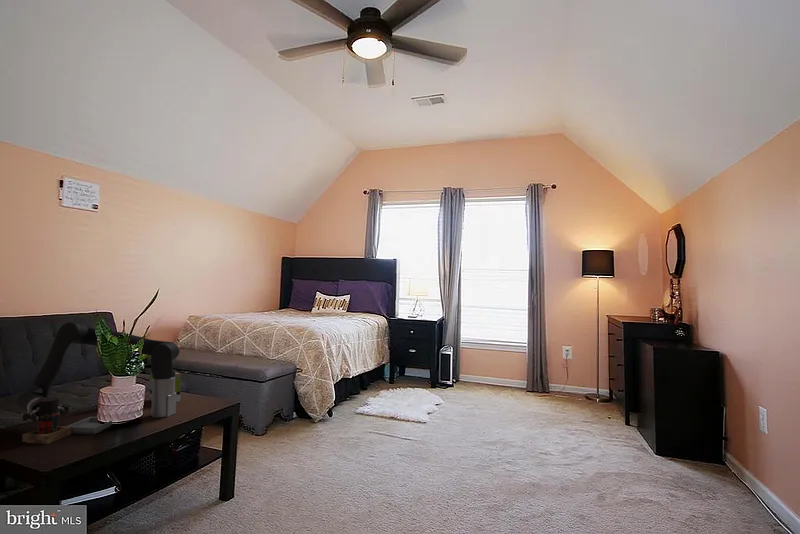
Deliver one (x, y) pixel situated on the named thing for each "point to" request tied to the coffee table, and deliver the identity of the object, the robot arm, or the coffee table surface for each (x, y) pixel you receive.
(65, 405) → the robot arm
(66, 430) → the socket block
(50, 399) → the deodorant
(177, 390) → the tea box
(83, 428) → the tray
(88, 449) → the coffee table surface
